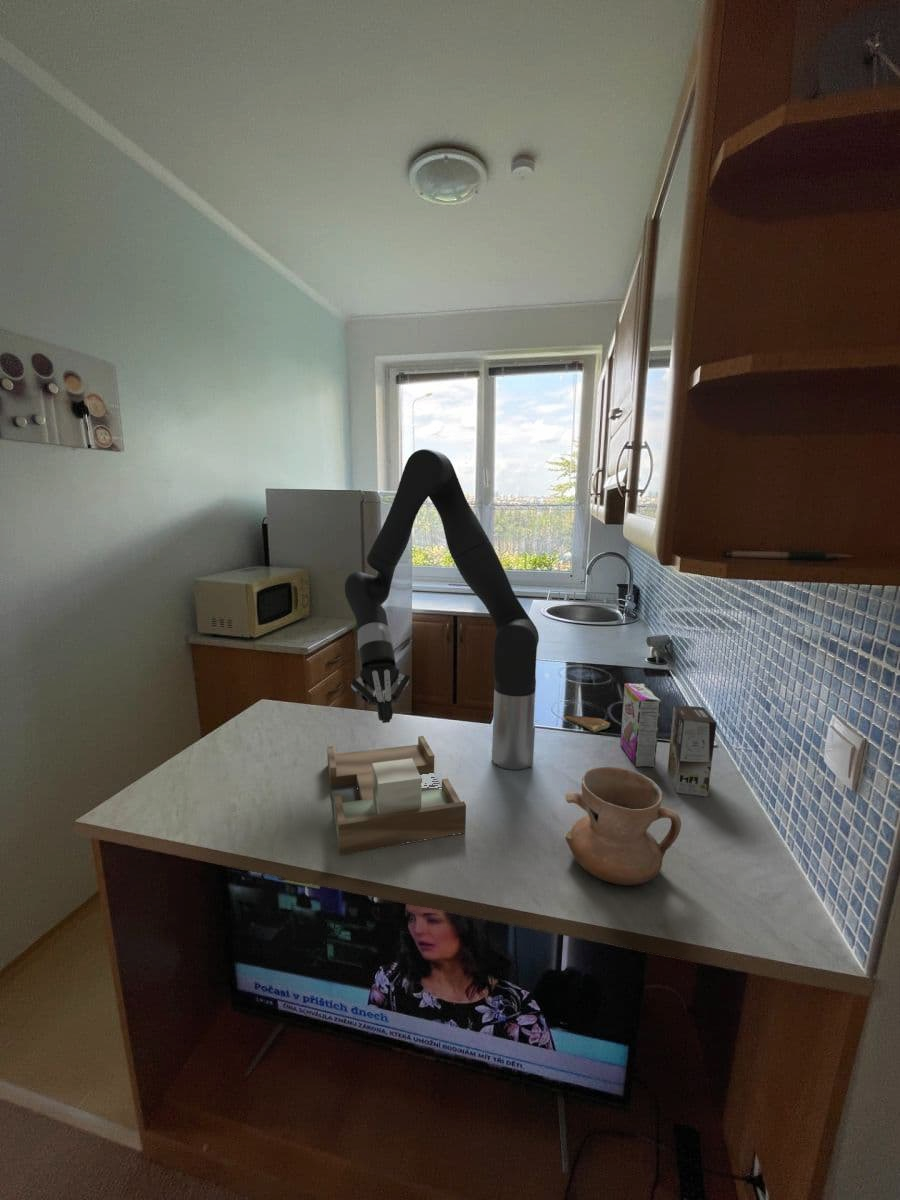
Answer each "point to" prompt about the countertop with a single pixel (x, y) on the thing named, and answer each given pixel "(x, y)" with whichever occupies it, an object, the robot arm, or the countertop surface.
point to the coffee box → (691, 750)
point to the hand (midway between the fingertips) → (386, 721)
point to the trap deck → (375, 831)
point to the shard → (589, 722)
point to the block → (396, 786)
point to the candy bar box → (640, 724)
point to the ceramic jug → (620, 826)
